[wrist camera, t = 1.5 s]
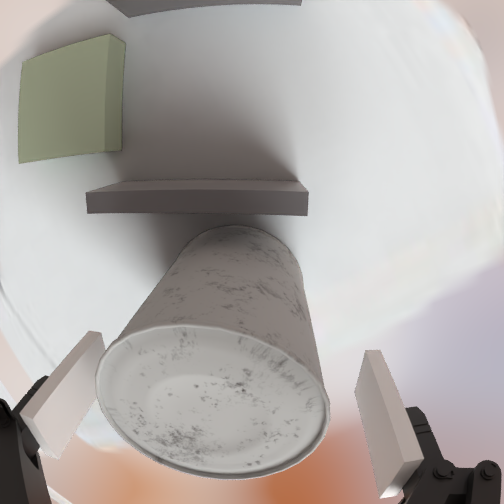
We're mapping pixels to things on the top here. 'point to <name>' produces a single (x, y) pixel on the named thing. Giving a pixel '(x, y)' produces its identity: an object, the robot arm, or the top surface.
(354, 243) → the top surface
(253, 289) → the grey cylindrical piece
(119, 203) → the parallel grey rails
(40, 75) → the block
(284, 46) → the top surface
